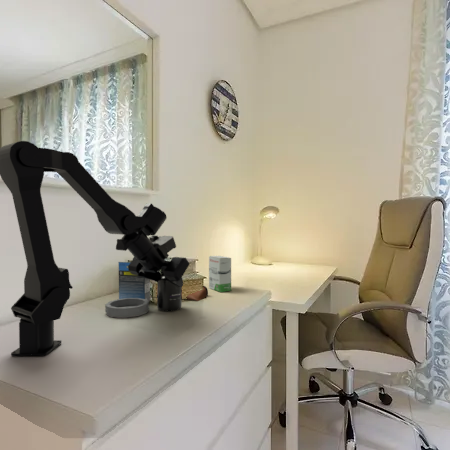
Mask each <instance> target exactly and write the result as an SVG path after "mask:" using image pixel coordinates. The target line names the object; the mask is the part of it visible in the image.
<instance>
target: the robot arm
mask: <svg viewBox="0 0 450 450" xmlns="http://www.w3.org/2000/svg"><path fill="white" fill-rule="evenodd" d="M45 173H57V174H58V175H59V176H60V177H61V178H62V179H63V180H64V181H65V182H66V183H67V184H68V185H69V186H70V187H71V188H72V189H73V191H75V192H76V193H77V194H78V196H79V197H81V198H82V200H84V201H85V203H87V204H88V205H89V207H90V208H91V209H93V211H94V212H95V214H96V217H97V221H98V222H99V224H100V225H101V227H102V228H103V229H104V231H105V232H107V234H110V235H122V237H121V238H116V246H115V250H116V251H122V252H123V251H124V252H126V251H127V250H128V252H129V253H131V255H132V256H133V258H132V260H131V261H130V262H131V263H130V264H129V266H127V268H128V270H129V272H130V273H131V274H133V275H138V276H140V277H143V278H146V279H149V280H150V281H153V282H156V283H157V282H158V278H159V277H160V276H161V275H162V273H161V269H163V270H164V276H165V277H166V281H168V282H170V283H172V284H175V285H177V286H179V287H182V286H183V284H184V281H183V276H184V274H185V273H186V271H187V269H188V268H189V266H190V261H189V260H188V258H186V257H182V256H173V257H172V258H171V260H166V259H168V257H169V256H170V255H169V252H171V251H172V250H174V249H176V248H177V244H176V242H175V239H174V236H173V235H160V236H158V235H156V234H157V233H158V232H159V230H160V229H161V227H162V226H163V224H164V223H165V222H166V221H167V214H166V213H165V211H163V210H161V208H159V207H156V206H154V204H153V203H146V204H145V205H144V206H143V207H142V210H140V212H139V213H138V214H137V215H136V214H135V213H134V212H133V211H132V210H131V209H130V208H128V207H127V206H125V205H124V204H122V203H120V202H118V201H116V200H115V199H113V198H112V197H111V195H110V194H108V192H107V191H106V190H105V189H104V188H103V187H102V186H101V185H100V183H99V182H98V181H97V180H96V179H95V178H94V177H93V176H92V174H91V173H90V172H89V171H88V170H87V169H86V168H85V167H84V166H83V164H82V163H81V162H80V161H79V159H78V157H77V155H76V154H74V153H72V152H70V151H59V150H55V149H52V148H45V147H38V146H37V145H36V144H34V143H33V142H30V141H27V140H21V141H20V140H19V141H16V142H13V143H12V142H11V143H8V144H5V145H2V146H1V147H0V178H1V180H2V181H3V183H4V184H5V186H6V187H7V189H8V190H9V192H10V193H11V196H12V199H13V204H14V205H13V206H14V210H15V213H16V219H17V223H18V228H19V232H20V236H21V241H22V245H23V246H22V247H23V250H24V255H25V259H26V265H27V266H26V271H25V275H24V280H23V281H24V282H23V284H24V285H23V286H24V287H23V289H24V290H23V292H24V293H23V294H22V295H21V296H20V297H19V298H18V299H17V300H16V302H14V303H13V305H11V307H10V309H11V312H12V314H13V316H14V317H15V318H19V321H18V327H19V328H18V340H19V341H18V345H19V347H18V348H16V349H15V350H13V351H12V352H10V355H11V356H14V357H15V356H16V357H23V356H25V357H27V356H28V357H34V356H35V357H36V356H37V357H42V356H47V355H48V354H50V353H51V352H52V351H53V350H55V349H56V348H57V347H59V346H60V345H61V344H62V340H55V323H54V322H55V321H56V320H60V319H61V317H62V313H63V311H64V307H65V305H66V303H67V302H68V300H70V297H71V291H70V289H73V286H72V284H71V282H70V272H69V269H68V268H64V267H58V265H57V263H56V261H55V258H54V253H53V248H52V247H53V246H52V243H51V239H50V233H49V228H48V222H47V218H46V213H45V212H46V211H45V209H44V208H45V207H44V203H43V198H42V193H41V188H42V184H43V181H44V180H43V179H44V177H45ZM149 236H150V237H149Z"/></svg>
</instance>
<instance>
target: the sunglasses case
mask: <svg viewBox="0 0 450 450" xmlns="http://www.w3.org/2000/svg"><path fill="white" fill-rule="evenodd" d="M208 291H209V290H208V288H207V287H206V286H205V285H203V290H201V291H197V292H195V293H192V294H189V295H188V296H187V297H186V298H187V300H186V301H192V302H200V301H201V300H203V299H204V298H206V297H208V295H209V292H208Z"/></svg>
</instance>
